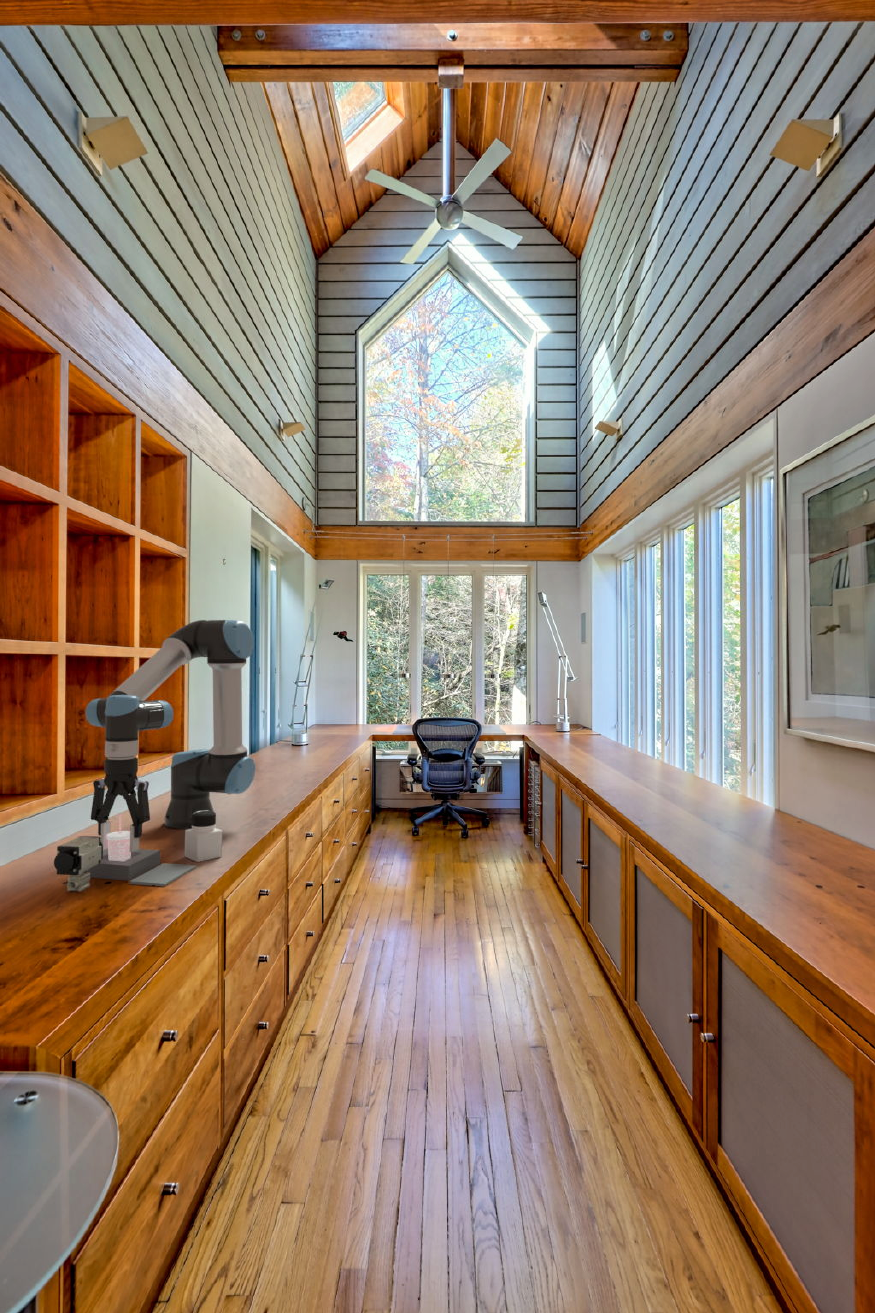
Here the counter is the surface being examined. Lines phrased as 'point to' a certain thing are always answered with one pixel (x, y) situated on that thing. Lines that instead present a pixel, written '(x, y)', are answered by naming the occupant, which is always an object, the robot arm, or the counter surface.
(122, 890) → the counter surface
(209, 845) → the medicine bottle
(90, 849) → the pneumatic valve
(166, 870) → the rubber mat
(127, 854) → the beverage cup
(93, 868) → the socket block
